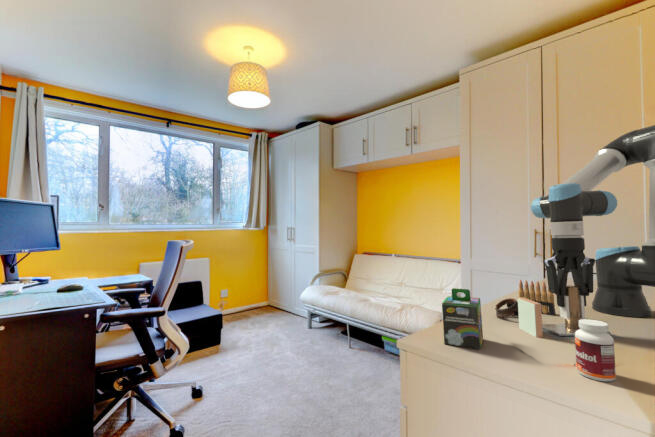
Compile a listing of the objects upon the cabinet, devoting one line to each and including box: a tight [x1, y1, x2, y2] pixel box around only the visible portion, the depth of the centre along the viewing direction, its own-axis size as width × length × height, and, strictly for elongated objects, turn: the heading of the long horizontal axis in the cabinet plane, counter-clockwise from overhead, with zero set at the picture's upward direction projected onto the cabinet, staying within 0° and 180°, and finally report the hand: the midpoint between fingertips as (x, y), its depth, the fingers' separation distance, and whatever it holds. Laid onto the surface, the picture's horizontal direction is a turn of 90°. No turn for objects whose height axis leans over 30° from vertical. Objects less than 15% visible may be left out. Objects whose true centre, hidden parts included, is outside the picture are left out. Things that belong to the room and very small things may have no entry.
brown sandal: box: [494, 297, 519, 318], centre depth 102 cm, size 12×10×8 cm
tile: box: [517, 296, 544, 338], centre depth 87 cm, size 2×8×10 cm, turn 179°
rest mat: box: [542, 328, 626, 341], centre depth 87 cm, size 18×12×1 cm, turn 89°
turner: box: [542, 284, 612, 336], centre depth 87 cm, size 14×8×13 cm, turn 89°
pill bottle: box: [574, 318, 617, 383], centre depth 63 cm, size 6×6×11 cm
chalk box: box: [441, 288, 484, 351], centre depth 84 cm, size 9×9×15 cm
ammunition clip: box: [518, 279, 556, 317], centre depth 107 cm, size 11×2×12 cm, turn 44°
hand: (572, 317), depth 87 cm, fingers closed on turner, 4 cm apart
